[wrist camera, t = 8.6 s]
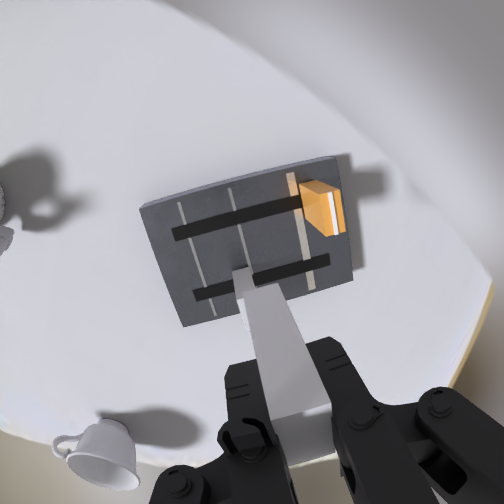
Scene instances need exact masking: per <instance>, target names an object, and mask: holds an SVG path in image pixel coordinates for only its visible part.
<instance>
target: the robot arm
mask: <svg viewBox="0 0 504 504" xmlns="http://www.w3.org/2000/svg"><path fill="white" fill-rule="evenodd" d="M242 294H243V299H244V303H245V308H246V313H247V317H248V322H249V327H250V331H251V336H252V340H253V345H254V350H255V354H256V359H254V360H250V361H246V362H242V363H238V364H234V365H229V367H228V370H227V372H226V374H225V377H224V380H225V389H226V399H227V411H228V421H227V422H226V423H224V424H223V426H222V427H221V429H220V430H219V432H218V437H217V441H218V443H219V444H220V446H221V448H222V449H223V451H224V453H223V454H222V455H221V456H220V457H219V458H217V459H215V460H214V461H212V462H210V463H207V464H205V465H203V466H201V467H198V468H196V469H195V468H194V467H191V466H187V465H175V466H173V467H170V468H168V469H166V470H165V471H164V472H162V473H161V474H160V476H159V477H158V479H157V481H156V483H155V486H154V489H153V493H152V495H151V499H150V502H149V504H299V503H298V500H297V496H296V492H295V488H294V484H293V481H292V478H291V476H290V472H289V468H288V466H292V465H295V464H299V463H303V462H306V461H310V460H313V459H316V458H320V457H323V456H326V455H329V454H332V453H335V449H336V451H337V454H338V456H339V459H340V474H341V477H342V476H344V478H345V481H346V483H347V486H348V489H349V491H350V494H351V496H352V499H353V502H354V504H439V502H438V500H437V498H436V496H435V495H434V493H433V491H432V489H431V487H432V488H433V489H434V490H435V491H436V492H437V493H438V494H439V495H440V496H441V497H442V498H443V499H444V500H445V501H446V502H447V503H448V504H504V427H503V426H502V425H500V424H499V423H498V422H496V421H495V420H494V419H492V418H491V417H490V416H489V415H487V414H486V413H485V412H483V411H482V410H481V409H479V408H478V407H477V406H475V405H474V404H473V403H471V402H470V401H469V400H467V399H466V398H465V397H463V396H462V395H461V394H459V393H458V392H457V391H455V390H453V389H451V388H447V387H437V388H432V389H430V390H428V391H427V392H425V393H424V394H423V395H422V396H421V397H420V399H419V402H415V403H409V404H403V405H387V404H383V403H381V402H378V401H377V400H376V399H374V398H373V397H372V395H371V394H370V393H369V391H368V389H367V387H366V386H365V384H364V382H363V381H362V379H361V377H360V375H359V374H358V372H357V370H356V369H355V367H354V365H353V364H352V362H351V360H350V358H349V357H348V356H347V353H346V352H345V350H344V348H343V347H342V345H341V343H339V342H338V341H336V340H335V339H333V338H332V337H330V336H329V337H326V338H323V339H319V340H316V341H313V342H310V343H307V344H305V342H304V340H303V338H302V336H301V333H300V331H299V329H298V327H297V325H296V322H295V320H294V318H293V316H292V313H291V311H290V309H289V307H288V304H287V302H286V300H285V298H284V296H283V293H282V291H281V289H280V287H279V285H278V283H274V284H271V285H267V286H264V287H260V288H256V289H253V290H249V291H245V292H242ZM430 486H431V487H430Z"/></svg>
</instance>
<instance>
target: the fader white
mask: <svg viewBox="0 0 504 504" xmlns="http://www.w3.org/2000/svg"><path fill="white" fill-rule="evenodd" d="M232 275H233V282H234V288H235V294H236V300H237V303H238V307H239V310H240V313H241V316H242V320H243V323H244V326H245V329H246V332H247V333H249V332H251V331H250V327H249V322H248V317H247V313H246V308H245V303H244V299H243V294H242V292H245V291H249V290H253V289H255V285H254V282H253V279H252V275H251V272H250V268H249V267H246V268H243V269H239V270H235V271H232Z"/></svg>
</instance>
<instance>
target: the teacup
mask: <svg viewBox="0 0 504 504" xmlns="http://www.w3.org/2000/svg"><path fill="white" fill-rule="evenodd" d="M76 441H79V442H78V444H77V447H76V449H75V450H74V451H72V450H71V449H70V448H68V449H67V450H66V451H65V452H60V451H58V449H57V445H58V444H59V443H61V442H76ZM52 451H53V453H54V454H55V456H57V457H59V458H62V459H64V458H66V457H67V458H66V460H67V464H68V466H69V467H70V468H71V470H72V471H73V472H75V473H76V474H77V475H78V476H80V477H81V478H83V479H85V480H86V481H88V482H90V483H93V484H95V485H98V486H101V487H104V488H108V489H113V490H131V489H134V488H136V487H137V486H139V485H140V478H139V477H138V475H137V473H136V449H135V444H134V442H133V440H132V438H131V437H130V436H129V435H128V430H127V428H126V427H125V426H124V425H122V424H121V423H119V422H117V421H115V420H111V419H101V420H99V421H98V422H97V424H93V425H90V426H89V427H88V428H87V429H86V430H85V431H84V433H82V434H80V435H77V436H67V435H62V436H59V437H57V438H55V439H54V441H53V443H52ZM68 454H69V455H68Z"/></svg>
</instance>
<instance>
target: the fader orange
mask: <svg viewBox="0 0 504 504" xmlns="http://www.w3.org/2000/svg"><path fill="white" fill-rule="evenodd" d="M299 188H300V193H301V198H302V203H303V208H304V213H305V218H306V220H308V221H309V222H310V223H311V224H312V225H313V226H314V227H316V228H317V229H318V230H319V231H320V232H321V233H322V234H324V235H325V236H326V237H327V236H331V235H338V233H342V232H345V231H346V229H345V222H344V215H343V208H342V202H341V196H340V190H339V189H337V188H334V187H332V186H330V185H327V184H325V183H322V182H320V181H318V180H313V181H309V182H305V183H300V184H299Z"/></svg>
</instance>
